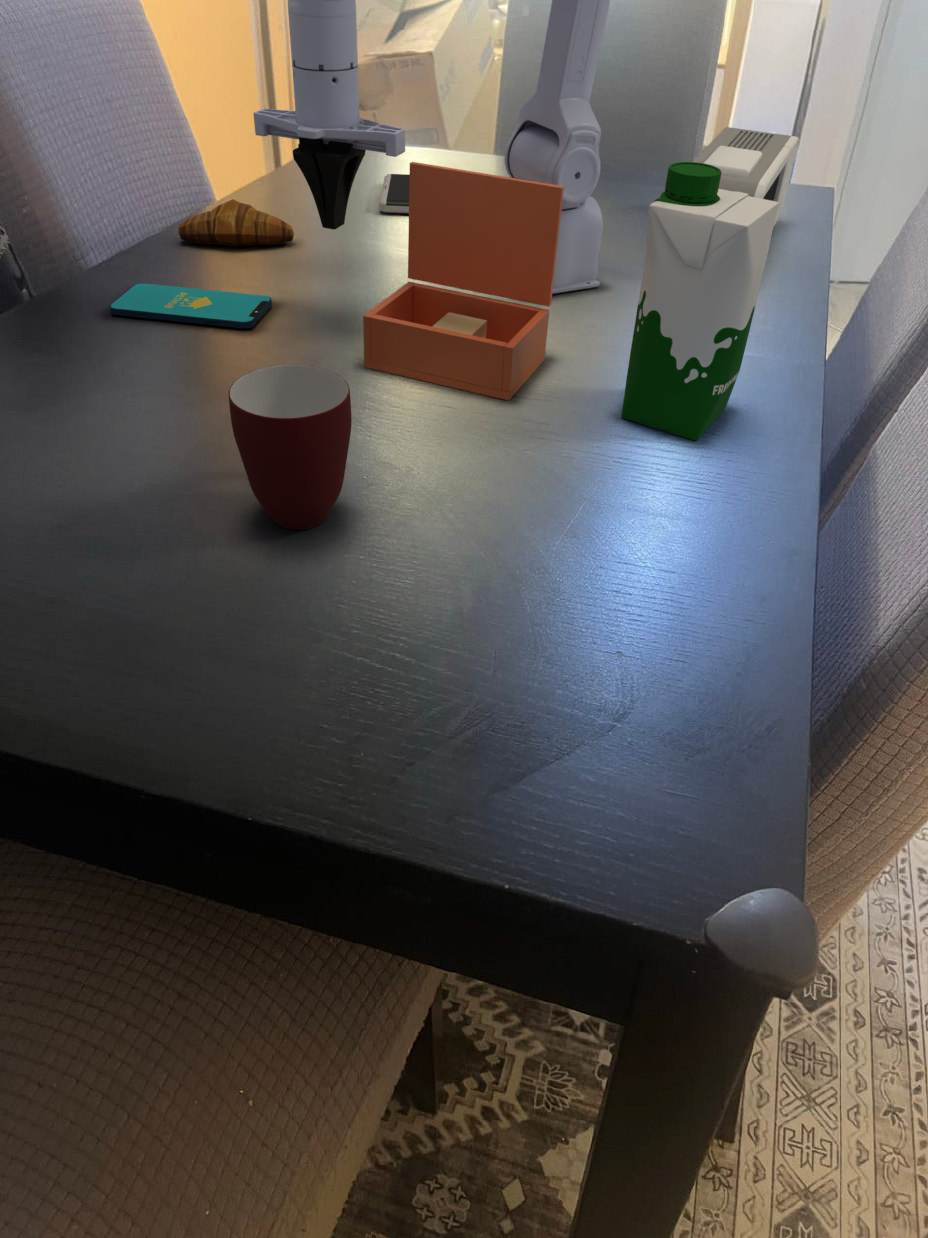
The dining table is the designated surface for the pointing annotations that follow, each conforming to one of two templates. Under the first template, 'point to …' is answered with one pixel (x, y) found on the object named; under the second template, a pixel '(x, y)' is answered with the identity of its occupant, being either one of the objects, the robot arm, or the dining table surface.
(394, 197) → the tablet
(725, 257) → the milk carton
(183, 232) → the croissant
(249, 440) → the mug
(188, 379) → the dining table surface
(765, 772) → the dining table surface
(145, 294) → the smartphone
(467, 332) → the block
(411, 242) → the case cover
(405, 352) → the case
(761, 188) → the alarm clock
